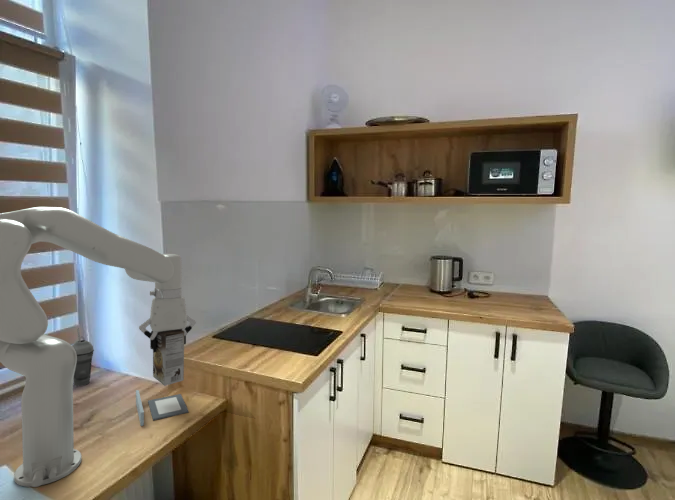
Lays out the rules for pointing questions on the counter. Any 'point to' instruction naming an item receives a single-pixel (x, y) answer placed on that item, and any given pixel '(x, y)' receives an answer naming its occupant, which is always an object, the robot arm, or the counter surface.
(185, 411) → the mat
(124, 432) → the counter surface
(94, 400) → the counter surface
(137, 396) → the acrylic wall
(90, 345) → the beverage cup
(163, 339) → the coffee box
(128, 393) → the counter surface
